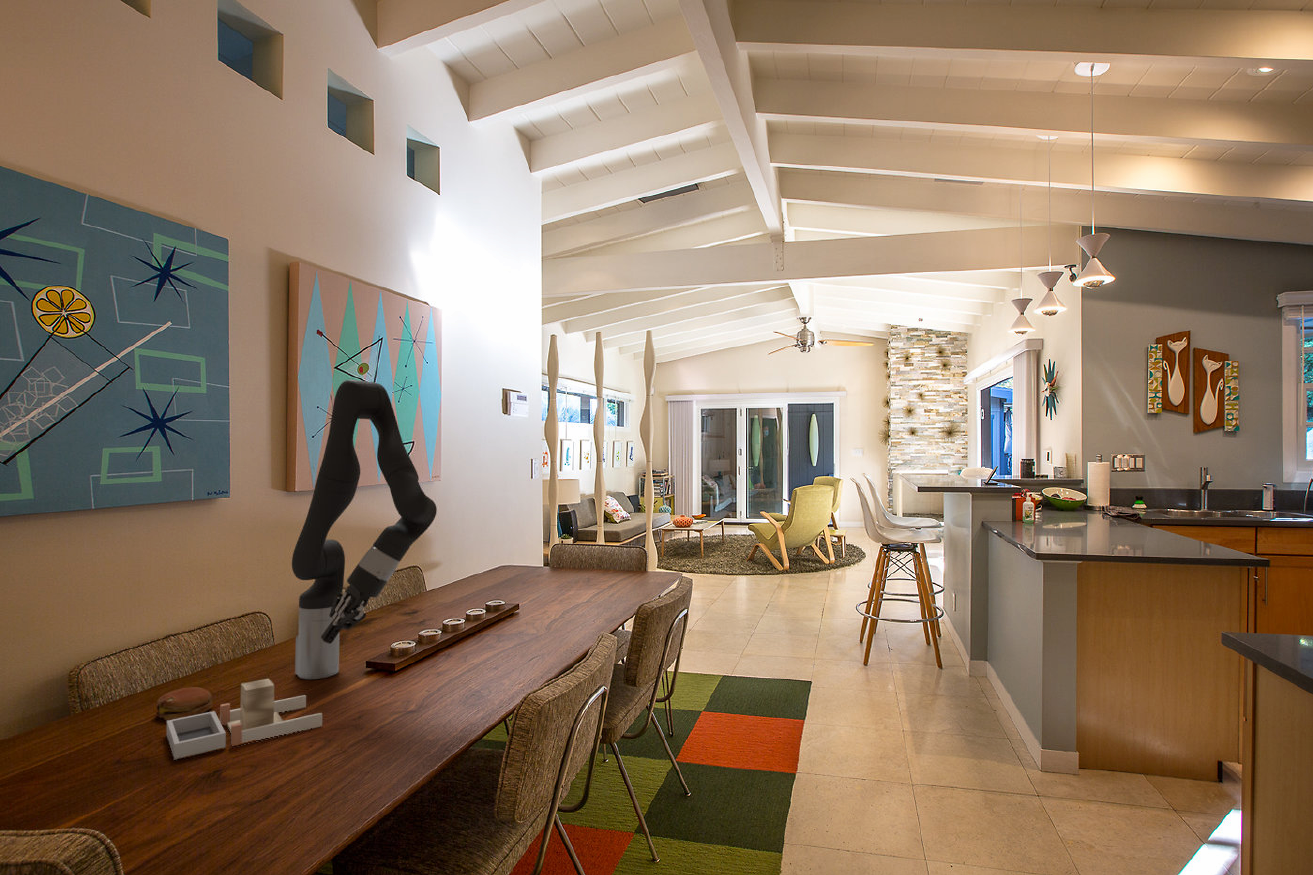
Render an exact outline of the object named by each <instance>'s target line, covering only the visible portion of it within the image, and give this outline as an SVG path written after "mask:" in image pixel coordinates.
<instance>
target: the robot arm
mask: <svg viewBox="0 0 1313 875" xmlns="http://www.w3.org/2000/svg"><path fill="white" fill-rule="evenodd" d="M333 400H334V401H333V406H332V411H331V418H330V425H329V430H328V437H327V441H326V445H325V449H324V453H323V457H322V461H321V464H320V467H319V470H318V473H317V476H316V477H317V478H316V482H315V485H314V491H313V494H312V498H311V502H310V504H309V508H308V512H307V515H306V518H305V521H304V524H303V527H302V529H301V531H300V534H299V536H298V539H297V542H296V544H295V547H294V549H293V554H292V557H291V558H292V559H291V568H292V572H293V575H294V576H295V577H296V578H297V579H299V580H300V581H311V580H314V582H313V584H312V585H311V586H310V587H309V588H308V589H306V590H305V591H304V592H302V593H301V594H300V595H299V598H298V635H296V636H295V663H294V664H295V668H294V669H295V670H294V671H295V672H294V674H295V675H297V677H298V678H299V679H303V680H318V679H325V678H329V677H332V676H334V675H337V674H338V673H339V669H340V632H341V630H344V629H345V630H349V629H351V628H353V627H354V626H356V625H357V624H359V623H360V622H361V621H363V620H364V619H365V618H366V616H367V614H366V613H365V612H364V608H365V607H366V606H367V605H368V602H369V600H370V598H378V596H380V593H381V592H382V591H383V589H384V588H385V587H386V585H387V583H388V582H389V580H390V579H391V577H392V576H393V575H394V574H395V572H396V569H397V568H398V567H399V564H400V562H401V561H402V559H403V558H404V556H405V555H406V554H407V552H408V550H409V549H410V547H411V546H412V545H413V544H414V543H415V542H416V541H417V540H418V539H419V538H420V537H421V536H422V535H423V534H424V533H425V532H426V530H428V529H429V527H430V526H431V525H432V523H434V520H435V518H436V516H437V512H438V510H437V505H436V503H435V501H434V500H433V499H431V498H430V497H429V496H427V495H426V494H425V492H424V491H423V489H422V487H421V485H420V483H419V481H420V480H419V478H420V477H419V474H418V471H417V469H416V467H415V465H414V464H413V461H412V459H411V458H410V455H409V453H408V451H407V449H406V446H405V444H404V442H403V439H402V436H401V432H400V429H399V424H398V422H397V419H396V416H395V412H394V411H395V410H394V408H393V405H392V402H391V398H390V395H389V394H388V392H387V390H386V388H385V387H384V386H383V385H382V384H380V383H378V382H373V381H366V380H357V379H346V380H344V381H342V382H341V384H340V385H339V387H338V388H337V390H336V392H335V395H334V399H333ZM358 419H359V420H370V422H371V423H372V424H373V426H374V427H375V430H376V432H377V434H378V443H377V444H378V445H377V450H376V451H377V453H376V456H377V457H376V459H377V463H378V466H379V469H380V472H381V473H382V475H383V477H384V480H385V481H386V484H387V485H388V487H389V490H390V493H391V494H390V495H391V500H392V501H393V504H394V507H395V509H396V511H397V513H398V515H399V516H400V518H399V519H398V521H397V522H396V523H395V524H393V525H388V526H386V527H385V528H384V529H383V530H382V531H381V533H380V535H378V537H377V538H376V540H375V541H374V542H373V544H372V545H371V547H370V548H369V549H368V550H367V551H366V553H364V554H363V556H362V558H361V559H360V560H359V562H358V563H357V565H356V566H355V567H354V569H353V570H352V572H351V573H350V575H349V576H348V577H347V579H346V582H347V584H348V585H349V586H348V587H347V588H346V589H345V590H344V583H345V582H344V581H345V566H346V565H345V564H346V557H345V556H346V555H345V550H344V547H343V546H342V545H341V543H340V542H339V541H338V540H335V539H331V538H330V539H327V537H328V534H329V532H330V530H331V528H332V527H333V526H334V524H335V522H336V521H337V520H338V519H339V518H340V517H341V515H342V514H343V513H344V512H345V511H346V509H347V508H348V507H349V506H350V504H351V502H352V501H353V499H354V498H355V495H356V492H357V490H358V485H359V481H360V477H361V465H360V461H359V458H358V454H357V452H356V450H355V445H354V435H355V430H356V429H355V428H356V425H357V422H358ZM343 591H344V592H343Z"/></svg>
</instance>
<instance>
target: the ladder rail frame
mask: <svg viewBox="0 0 1313 875" xmlns="http://www.w3.org/2000/svg"><path fill="white" fill-rule="evenodd" d="M306 707H307V695H305V694H303V695H297V696H293V697H289V698H282V699H278V700H274V712H277V713H278V714H280V713H279V712H282V713H286V712H285V711H287V712H289V711H290V710H291V711H297V710H301V709H305V708H306ZM240 711H241V707H240V708H239V707H238V708H235V709H231V704H230V702H227V703H222V704H220V705H219V721H220V723H221V725H224V726H227V723H228V722H232V721H237V720H240ZM291 711H290V712H291ZM322 726H323V713H322V712H318V713H314V714H309V715H304V716H300V717H297V718H291V719H286V720H283V721H282V722H277V723H273V724H268V725H264V726H259V727H255V728H250V729H246V730H242V724H241V723H236V724H232V725H231V734H230V746H231V745H232V746H234V745H238V744H241V743H244V742H248V741H252V740H261V739H265V738H269V739H271V738H270V737H273V738H275V737H274V736H278V737H280V736H279V735H282V736H285V735H284V734H286V735H289V733H290V734H293V732H295V733H298V732H297V731H299V732H302V730H303V731H308V730H310V729H311V728H312V729H316V728H319V727H322ZM312 729H311V730H312ZM265 740H266V739H265ZM261 741H262V740H261Z"/></svg>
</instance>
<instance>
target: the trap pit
mask: <svg viewBox="0 0 1313 875" xmlns="http://www.w3.org/2000/svg"><path fill="white" fill-rule="evenodd" d="M226 735H227V733H226V731H225V728H224V727H223V726H222V725H221V723H220V718H219V717H218V715H217V713H216V711H215V710H213V711H209V712H208V711H206V712H204V713H201V714H198V715H193V716H188V717H183V718H178V719H173V720H168V721H166V739H167V742H168V741H169V742H168V746H169V745H170V746H169V749H170V748H171V749H170V751H172V752H171V755H172V758H173V757H174V758H173V761H174V760H176V761H178V760H177V759H179V758H183V757H186V756H191V755H197V754H201V753H205V752H208V751H212V750H216V749H220V748H225V747H226V746H227V745H226V741H227V736H226ZM201 755H202V754H201ZM197 756H198V755H197Z"/></svg>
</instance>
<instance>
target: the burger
mask: <svg viewBox="0 0 1313 875" xmlns="http://www.w3.org/2000/svg"><path fill="white" fill-rule="evenodd" d="M212 702H213V700H212V693H211V692H210V691H209V690H208V689H205V688H203V687H198V686H195V687H194V686H190V687H182V688H179V689H175V690H172V691H169V692H167V693H164V694H163V695H162V696H160V697H159V698H158V700H157V702H156V709H157V711H156V712H155V714H156V715H158V716H159V718H161V719H162V718H163V719H164V721H166V722H167V721H168V720H173V719H178V718H183V717H188V716H193V715H198V714H203V713H207V712H208V711H209V710H210V709H212V708H213V703H212Z"/></svg>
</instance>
